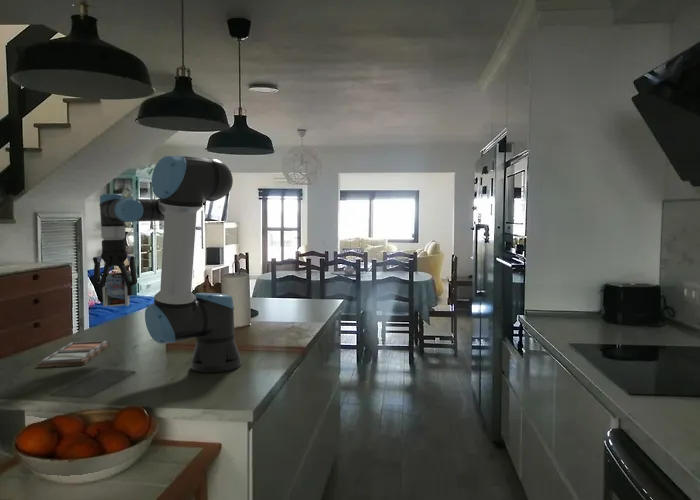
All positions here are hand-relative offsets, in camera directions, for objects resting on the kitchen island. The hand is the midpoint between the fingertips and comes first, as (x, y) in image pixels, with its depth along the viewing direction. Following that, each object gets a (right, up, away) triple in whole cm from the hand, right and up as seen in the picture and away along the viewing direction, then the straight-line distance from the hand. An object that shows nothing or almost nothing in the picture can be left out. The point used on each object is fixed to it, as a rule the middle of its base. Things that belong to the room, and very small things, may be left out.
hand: (116, 305), depth 184 cm
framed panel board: (-14, -17, 0) cm, 22 cm away
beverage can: (0, -1, 0) cm, 1 cm away
